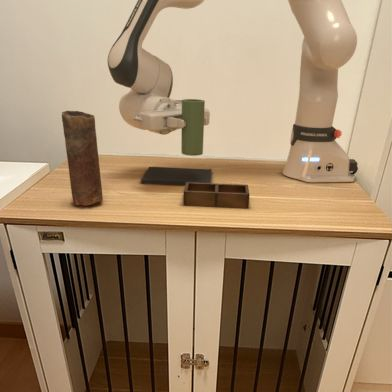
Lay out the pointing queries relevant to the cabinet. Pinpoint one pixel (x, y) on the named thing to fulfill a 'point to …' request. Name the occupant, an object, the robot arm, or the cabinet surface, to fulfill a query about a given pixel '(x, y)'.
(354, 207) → the cabinet surface
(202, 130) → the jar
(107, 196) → the cabinet surface
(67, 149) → the weathered brown tube
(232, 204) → the divided wooden tray
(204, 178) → the mat
